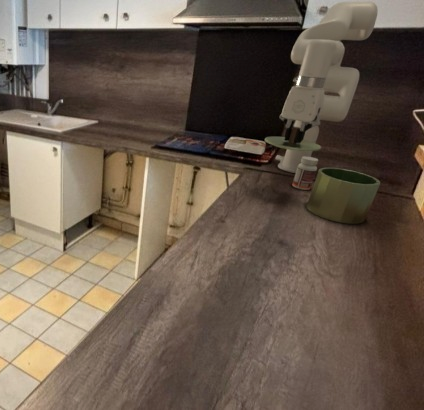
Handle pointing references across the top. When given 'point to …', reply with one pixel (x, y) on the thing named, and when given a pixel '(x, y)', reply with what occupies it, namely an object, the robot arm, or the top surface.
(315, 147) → the tin lid
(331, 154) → the top surface
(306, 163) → the pill bottle
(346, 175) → the tin
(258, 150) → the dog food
